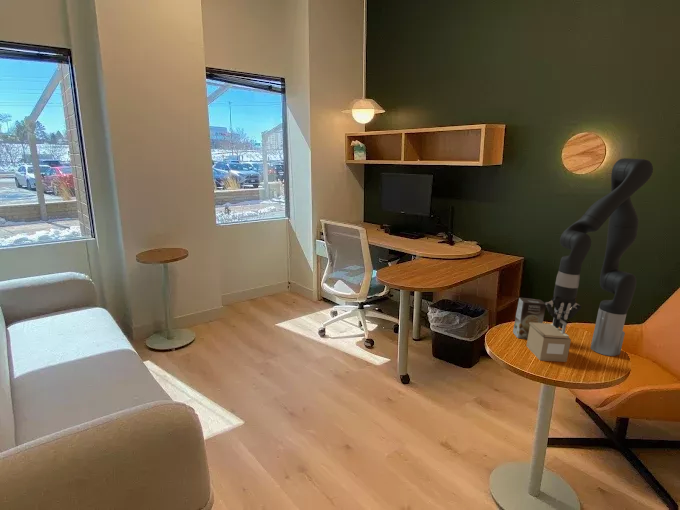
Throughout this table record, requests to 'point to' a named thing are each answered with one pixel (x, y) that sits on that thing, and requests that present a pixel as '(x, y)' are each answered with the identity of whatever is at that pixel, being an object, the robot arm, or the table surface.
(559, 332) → the flap
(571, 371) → the table surface
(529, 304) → the coffee box
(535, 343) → the carton
